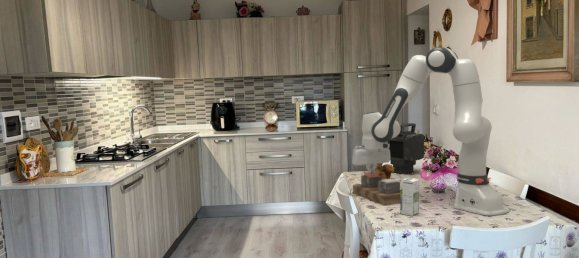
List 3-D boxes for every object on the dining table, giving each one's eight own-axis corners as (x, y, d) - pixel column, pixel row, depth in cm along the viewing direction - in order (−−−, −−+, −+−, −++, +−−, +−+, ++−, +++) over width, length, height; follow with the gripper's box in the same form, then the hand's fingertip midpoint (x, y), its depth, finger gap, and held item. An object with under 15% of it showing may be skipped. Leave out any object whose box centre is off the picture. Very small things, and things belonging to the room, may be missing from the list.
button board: (409, 201, 200) (409, 182, 199) (384, 205, 195) (383, 185, 194) (376, 189, 224) (376, 172, 223) (352, 193, 218) (352, 175, 217)
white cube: (396, 191, 201) (396, 180, 201) (387, 192, 199) (387, 181, 199) (390, 189, 206) (390, 178, 205) (381, 190, 204) (381, 179, 203)
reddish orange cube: (378, 183, 214) (378, 173, 213) (370, 184, 212) (370, 174, 211) (372, 181, 218) (372, 171, 218) (364, 182, 216) (364, 172, 216)
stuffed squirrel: (365, 181, 244) (364, 158, 243) (386, 179, 249) (386, 156, 248) (374, 185, 235) (374, 160, 234) (396, 182, 240) (396, 158, 239)
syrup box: (405, 210, 186) (405, 177, 184) (419, 213, 182) (419, 178, 181) (399, 214, 181) (399, 179, 180) (413, 216, 178) (413, 181, 176)
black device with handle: (400, 169, 277) (400, 122, 274) (425, 173, 263) (425, 123, 260) (385, 172, 267) (385, 123, 264) (410, 176, 254) (410, 125, 251)
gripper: (356, 147, 206) (356, 176, 208) (392, 144, 214) (392, 172, 216) (349, 145, 212) (349, 173, 213) (384, 142, 220) (384, 169, 222)
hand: (371, 173), depth 215 cm, fingers closed, pressing on reddish orange cube
